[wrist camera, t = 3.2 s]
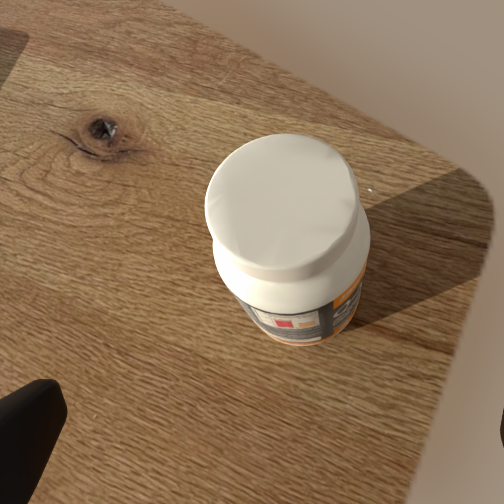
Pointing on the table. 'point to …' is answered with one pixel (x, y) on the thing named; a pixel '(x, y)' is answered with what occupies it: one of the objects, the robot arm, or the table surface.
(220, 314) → the table surface
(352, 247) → the pill bottle
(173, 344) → the table surface
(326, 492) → the table surface
